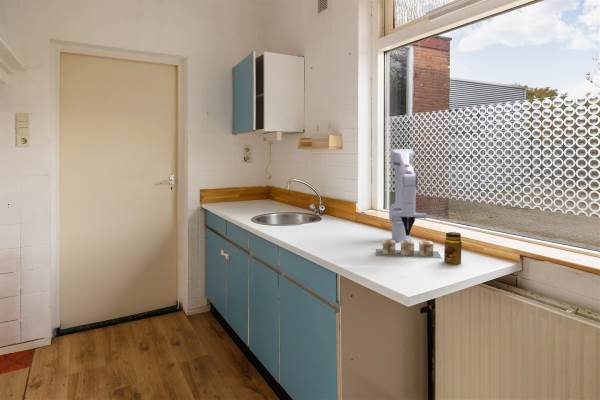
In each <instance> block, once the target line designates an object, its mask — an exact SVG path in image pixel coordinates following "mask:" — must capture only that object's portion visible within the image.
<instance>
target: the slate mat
mask: <svg viewBox="0 0 600 400" xmlns="http://www.w3.org/2000/svg"><path fill="white" fill-rule="evenodd" d="M440 254H441V253H439V251H434V250H433V256H420V254H419V250H414V255H401V249H395V255H390V254H383V248H382V249H380V248H379V249H377V248H376V249H375V257H392V258H393V257H395V258H415V259H416V258H418V259H443V258H442V256H441V255H440Z"/></svg>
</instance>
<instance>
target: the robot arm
mask: <svg viewBox="0 0 600 400" xmlns="http://www.w3.org/2000/svg"><path fill="white" fill-rule="evenodd" d="M413 150H414V149H412V148H404V149H402V148H399V149H398V148H396V149H395V148H391V149H390V153H389V154H390V155H389V157H390V158H389V159H390V160H389V161H390V163H389V164H390V167H391V168H393V169H394V172H395V187H394V188H395V190H394V191H395V199H394V200H395V202H394V203H392V204H391V205H390V206H389V211H388V221H389V222H390V223H391V239H389V240H395V243H401V240H405V241H413V240H412V238H411V230H412V228H413V225H414V224H415V222H416V219H424V220H426V219H427V218H428V217H427V216H428V215H427V213H425V212H424V213H423V212H416V206H417V205H416V203H417V202H416V201H417V199H416V198H417V188H418V183H419V179H418V178H419V177H418V173H417V172H415V170H414V168H413V165H412V163H413V160H414V151H413Z"/></svg>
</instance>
